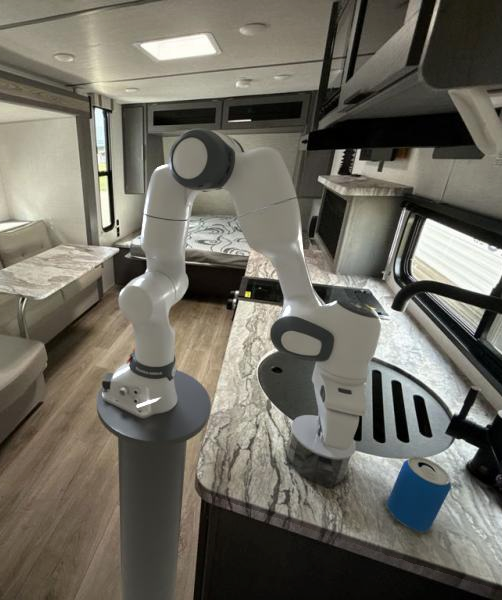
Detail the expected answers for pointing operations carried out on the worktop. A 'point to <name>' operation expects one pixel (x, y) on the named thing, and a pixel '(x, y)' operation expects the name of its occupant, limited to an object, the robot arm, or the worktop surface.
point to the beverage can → (419, 493)
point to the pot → (315, 463)
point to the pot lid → (317, 438)
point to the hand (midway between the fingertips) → (322, 432)
